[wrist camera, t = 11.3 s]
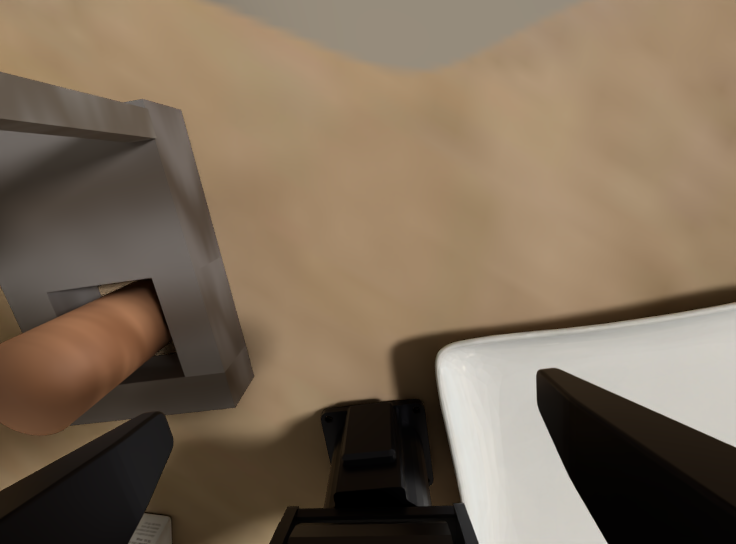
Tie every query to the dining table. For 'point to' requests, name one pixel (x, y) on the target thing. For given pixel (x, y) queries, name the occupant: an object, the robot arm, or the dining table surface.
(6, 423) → the peg
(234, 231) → the dining table surface
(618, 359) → the salad plate
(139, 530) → the coffee box
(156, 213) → the socket block
